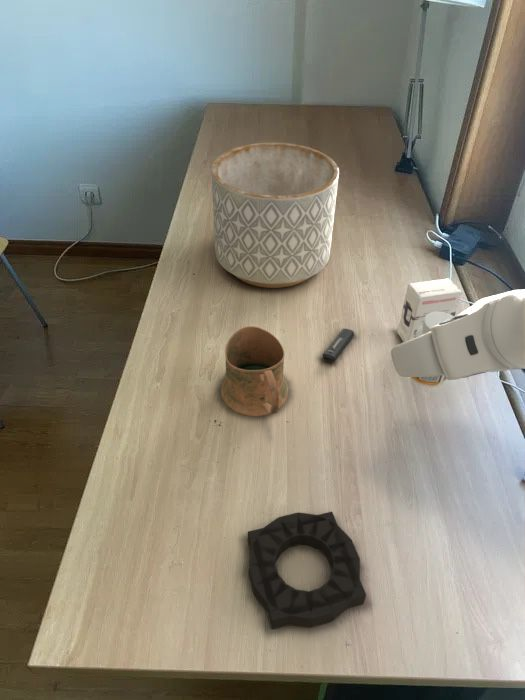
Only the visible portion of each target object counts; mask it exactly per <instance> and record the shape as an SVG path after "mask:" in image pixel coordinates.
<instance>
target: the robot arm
mask: <svg viewBox="0 0 525 700" xmlns="http://www.w3.org/2000/svg"><path fill="white" fill-rule="evenodd" d="M390 357H391V361H392V364H393V366H394V369H395V372H396V373H397V374H398V376H400V377H404V378H410V377H434V376H441V375H445V377H446V380H448V381H455V380H460V379H465V378H469V377H472V376H477V375H480V374H485V373H495V372H497V373H498V372H507V371H513V370H514V371H515V370H525V288H524V289H513V290H510V291H509V290H508V291H505V292H502V293H497V294H495V295H491V296H487V297H482V298H481V299H479V300H477V301H476V302H474V303H473V304H472V305H471V306H469V307H467V308H466V309H465V310H463V311H462V312H460V313H459V314H457V315H455V316H454V317H453V318H451V319H449V320H446V321H444V322H442V323H439V324H438V325H436V326H433V327H432V328H431V332H428V333H426V334H424V335H421V336H419V337H416V338H414V339H411V340H409V341H406V342H401V343H399V344H397V345H394V346H393V347H392V348H391V349H390Z"/></svg>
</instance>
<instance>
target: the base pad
mask: <svg viewBox="0 0 525 700" xmlns="http://www.w3.org/2000/svg"><path fill="white" fill-rule="evenodd" d="M247 542H248V546H249V550H250V554H249V560H248V577H249V581H250V585H251V588H252V592H253V595H254V597H255V598H256V599H257V600H258V602H259V603H260V605H261V606H262V607H263V609H264V610H265V611H266V612H267V613H266V614H267V616H268V621H269V624H270V627H271V628H270V629H271V630H275V629H278V628H282V627H284V626H285V627H286V626H288V625H289V626H290V625H291V626H296V627H297V626H298V627H303V628H314V627H318V626H321V625H324V624H328V623H331V622H333V621H335V620H336V619H337V618H338V617H339V616H340V615H342V614H343V613H344V612H345V611H346V610H348V609H350V608H353V607H357V606H361V605H364V603H365V601H366V597H367V593H366V591H365V589H364V586H363V583H362V581H361V559H360V555H359V554H358V551H357V549H356V547H355V544H354V541H353V540H352V538H351V537H350V536H349V535H348V534H347V533H346V532H345V531H344V530H343V529H342V528H341V527H340V526H339V524H338V522H337V519H336V517H335V515H334V513H333V511H328V512H324V513H320V514H316V513H315V514H313V513H307V512H294V513H289V514H285V515H281V516H278V517H277V518H275V519H273V520H272V521H271V522H269V523H268V524H266V525H265V526H264V527H262V528H256V529H252V530H249V531H247ZM299 545H303V546H309V547H310V546H311V547H313V548H315V549H316V550H318V551H320V552H321V553H322V554H323V555H324V556H325V557H326V559H327V560H328V562H329V565H330V568H331V575H330V577H329V579H328V580H327V582H326V583H324V584H323V585H321V587H319V588H316V589H312V590H302V589H296V588H294V587H292V586H291V585H289V584H287V583H286V582H285V581H284V579H283V578H282V577H281V576H280V575H279V571H278V568H277V565H276V564H277V561H278V560H279V557H280V556H281V554H282V553H284V551H286V550H287V549H289V548H290V547H294V546H299Z"/></svg>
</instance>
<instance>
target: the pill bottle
mask: <svg viewBox="0 0 525 700" xmlns="http://www.w3.org/2000/svg"><path fill="white" fill-rule="evenodd" d="M453 317H455V316H452V315H451V314H448V313H445V312H439V311H437V312H431V313H429V314H427V315H426V316H425V318H424V321H423V325H422V327H420V328H419V329H418V330H417V332H416V334H415V338H416V337H419V336H421V335H424V334H426V333H428V332H431V328H432V327H433V326H436V325H438V324H439V323H442V322H444V321H446V320H449V319H451V318H453ZM409 379H411V381H412V382H414V383H415V384H417V385H419V386H422V387H426V388H435V387H440V386H441V385H443V384H444V383H445V382H446V380H447V379H446V377H445V375H441V376H434V377H409Z"/></svg>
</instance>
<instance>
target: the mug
mask: <svg viewBox="0 0 525 700" xmlns="http://www.w3.org/2000/svg"><path fill="white" fill-rule="evenodd" d="M224 356H225V378H224V380H223V382H222V383H221V386H220V387H221V390H220V392H221V393H220V394H221V398H222V400H223V402H224V403H225V405H226V406H227V407H228V408H229V409H230V410H232V411H233V412H235V413H238V414H239V415H243V416H247V417H262V416H266V415H275V414H278V411H279V409H280V408H281V407H283V406H284V405H285V403H286V401H287V398H288V396H289V395H288V393H289V386H288V383H287V381H286V379H285V378H284V368H285V367H284V366H285V365H284V364H285V350H284V346H283V345H282V343H281V341H280V340H279V338H277V337H276V336H275V335H274V334H272V333H271V332H270V331H268V330H266V329H264V328H261V327H259V326H254V325H248V326H244V327H242V328H239V329H238V330H236V331H235V332H234V333H233V334H232V336H230V338H229V339H228V341H227V343H226V345H225V350H224Z"/></svg>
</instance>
